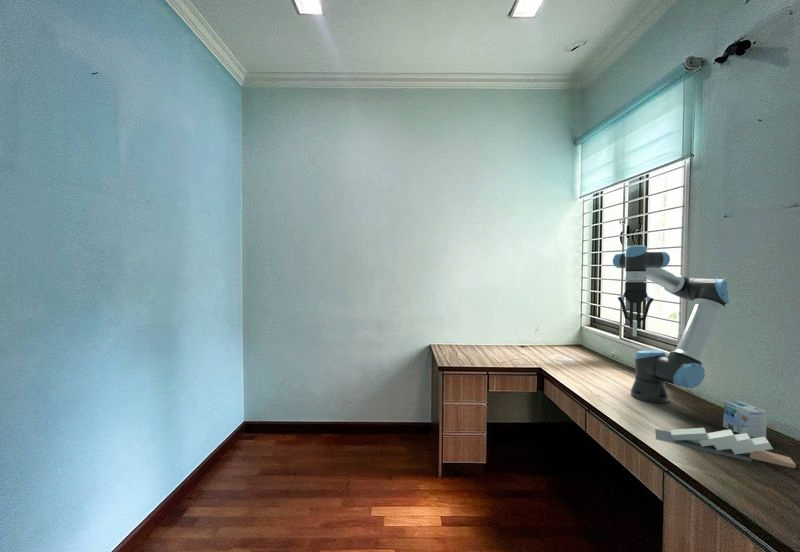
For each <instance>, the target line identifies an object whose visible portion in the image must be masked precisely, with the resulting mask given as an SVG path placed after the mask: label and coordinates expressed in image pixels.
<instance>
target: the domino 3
mask: <svg viewBox="0 0 800 552" xmlns="http://www.w3.org/2000/svg"><path fill="white" fill-rule="evenodd" d="M734 436H735V437H736V439H737V441H734V442H727V443H721V444H715V445H714V446H715V447H716V449H717V451H718V450H724V449H731V448H737V447H744V446H750V445H754V444H753V442H752V441H751V439H752V438H751V437H749V436H748V434H747V433H743V434H740V433H738V434H737V433H736V434H734Z"/></svg>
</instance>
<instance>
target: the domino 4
mask: <svg viewBox="0 0 800 552" xmlns="http://www.w3.org/2000/svg"><path fill="white" fill-rule="evenodd" d="M750 439H751V441H752V442H753V444H754V445H750V446H744V447H737V448H731V449H732V451H733V452H734V454H742V453H749V452H756V451H763V450H764V451H767V450H768V451H770V450H774V448H773V446H772V444H771V443H770V442H769V440H768V439H767V437H766V438H765V437H758V438H754V437H751V438H750Z"/></svg>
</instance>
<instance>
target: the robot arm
mask: <svg viewBox="0 0 800 552" xmlns="http://www.w3.org/2000/svg"><path fill="white" fill-rule="evenodd" d="M670 260H671V257H670V254H669V253H667V252H666V251H664V250H648V249H647V246H646V245H628V246H626V248H625V251H623V252H617V253H616V254H614V255H613V257H612V264H613V266H614V267H615V268H617V269H625V271H624V280H625V282H624V292H623V295H621V296H618V297H617V300H618V301H619V302H620V305H621V309H622V313H623V316H624V319H626V320H628V321H629V328H630V329H632V337H638V329H639V330H640V329H641V322H642V321H645V320H646V318H647V316H648V313H649V310H650V307H651V304H652V303H653V301H654V298H653V297H650V296H649V295H648V293H647V283H646V282H645V281H647V280H649V281H650V282H652V283H655V284H656V285H658V286H660V287H662V288H663V289H664V290H665V291H666V292H668V293H670V294H672V295H673V296H676V297H678V298H681V299H684V300H686V301H690V302H692V303H693V304H694V307H693V308H692V309H693V310H692V312H691V315H690V317H689V319H688V321H687V323H686V326H685V327H684V331H683V333H682V335H681V337H680V340H679V342H678V345H677V347H676V348H675V349H673V350H671V351H670V352H669V354H668V356H666V355H667V354H666V353H665V351H661V350H653V349H651V350H646V349H645V350H638V351H636V353H635V359H634V361H635V362H634V363H635V364H634V365H635V378H634V381H633V383H632V386H631V389H630V395H631V396H632V397H633V398H635V399H637V400H640V401H643V402H648V403H654V404H667V403H669V402H670V395H669V393H668V391H667V388H666V384H665V383H668V384H671V385H675V386H677V387H680V388H685V389H694V388H697V387H698V386H700V385H701V384H702V383H703V381H704V380H705V376H706V375H705V371H706V370H705V369H704V367H703V366H702V364H703V362H702V360H701V359H700V357H701V355H702V353H703V350H704V348H705V346H706V344H707V341H708V339H709V336H710V334H711V332H712V329H713V327H714V324H715V322H716V320H717V317H718V315H719V313H720V312H722V310H723V309H725V310H726V308H725V304H727V303H729V299H728V290H727V282H726V281H725V280H724V279H725V278H723V279H719V278H720V277H716V278H714V277H711V278H710V277H690V276H689V277H687V276H682V275H680V274H676V273H675V274H674V273H672V272H670V271H668V270H666V269H664V268H665V267H667V266H668V265H669V264H670ZM625 299H626V301H628V302H629V314H628V312H627V308H626V305H625ZM645 300H646V305H645V307H644V310H643V313H642V314H643V315H642V316H641V303H643V302H644V301H645ZM634 303H635V304H636V320H634ZM727 305H728V304H727ZM723 311H724V310H723Z"/></svg>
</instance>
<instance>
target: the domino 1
mask: <svg viewBox="0 0 800 552" xmlns="http://www.w3.org/2000/svg"><path fill="white" fill-rule="evenodd" d="M670 432H671V435H672V437H673V440H674V441H676V440H699V439H708V436H707V434H706V433H707V431H706V429H705V427H697V428H696V427H694V428H678V429H670Z"/></svg>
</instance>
